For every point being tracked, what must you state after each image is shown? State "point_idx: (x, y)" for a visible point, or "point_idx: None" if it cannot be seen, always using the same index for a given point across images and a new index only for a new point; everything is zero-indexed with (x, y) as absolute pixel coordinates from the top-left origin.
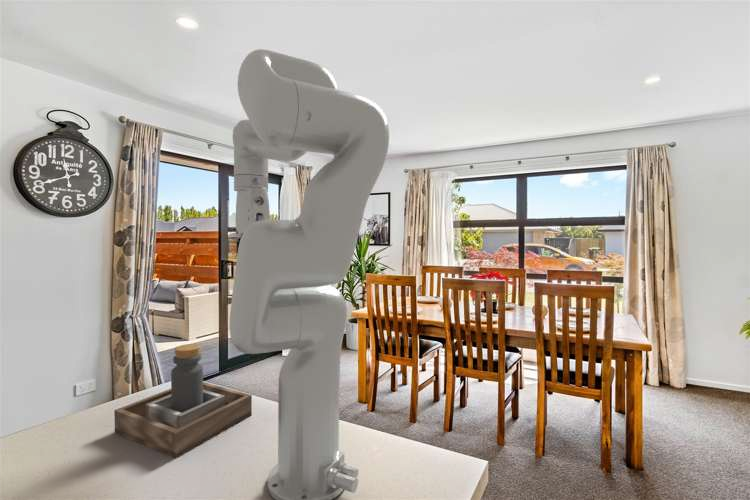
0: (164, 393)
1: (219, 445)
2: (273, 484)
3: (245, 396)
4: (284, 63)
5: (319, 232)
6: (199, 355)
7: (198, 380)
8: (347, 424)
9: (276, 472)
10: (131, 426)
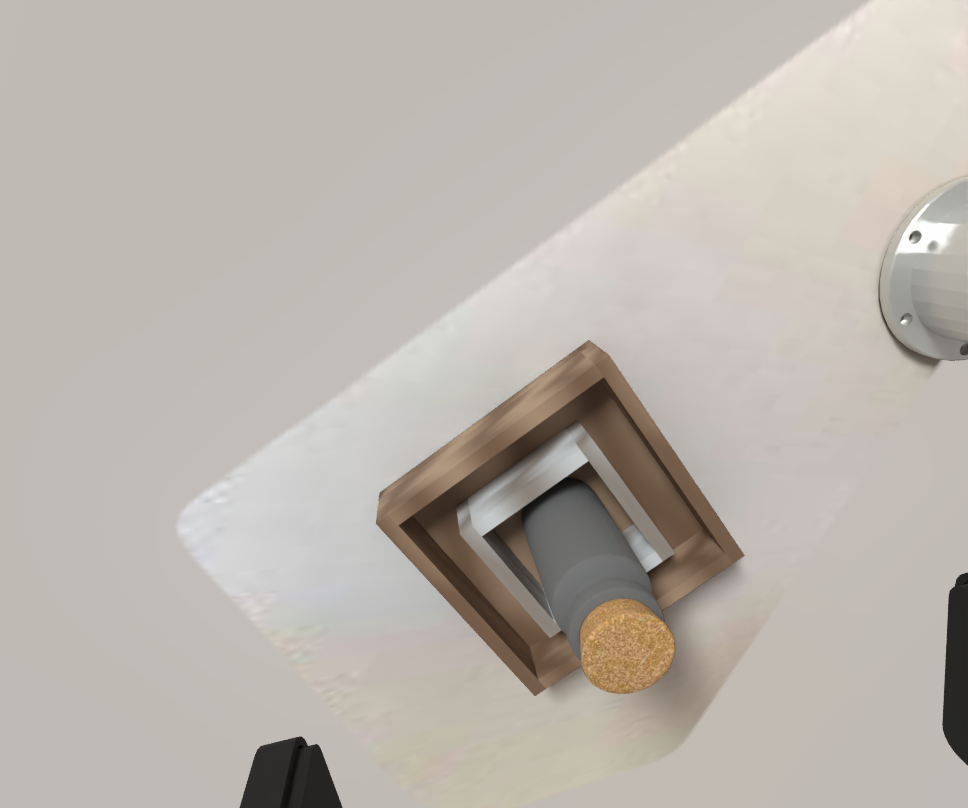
0: (465, 599)
1: (709, 435)
2: (958, 350)
3: (609, 375)
4: None
5: None
6: (635, 594)
7: (630, 548)
8: (798, 59)
9: (928, 337)
10: None
